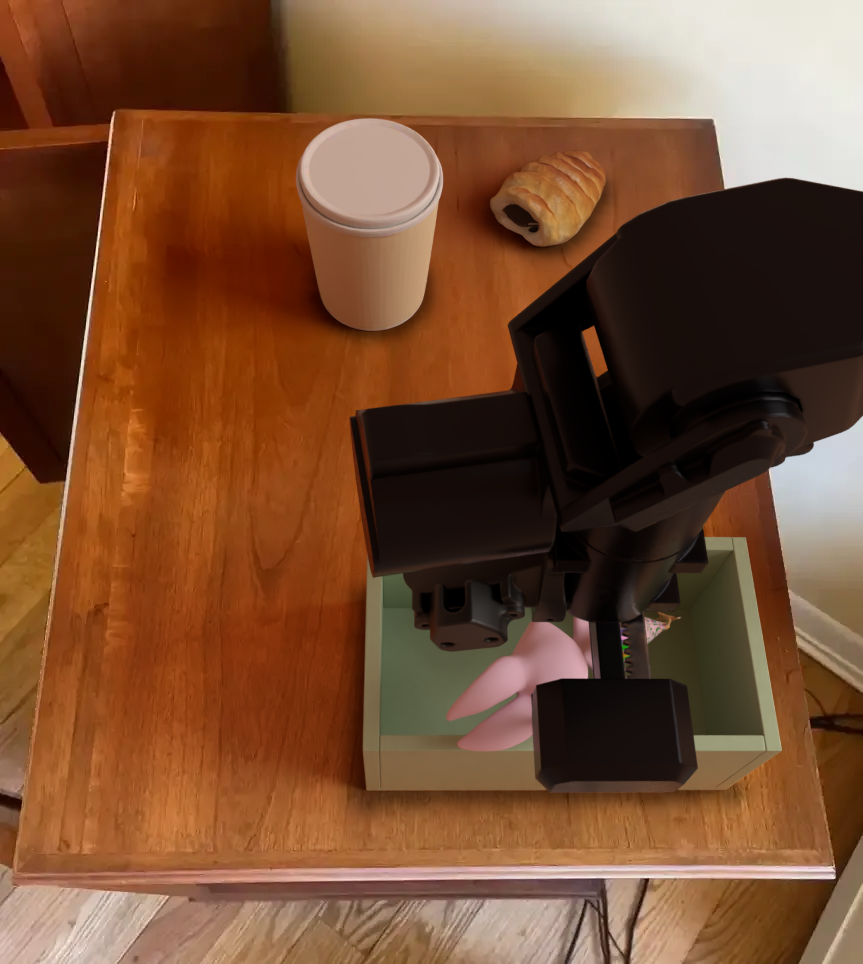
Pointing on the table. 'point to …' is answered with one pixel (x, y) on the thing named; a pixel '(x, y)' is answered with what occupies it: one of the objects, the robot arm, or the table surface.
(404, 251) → the coffee cup
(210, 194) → the table surface
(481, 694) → the rabbit figure
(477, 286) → the table surface
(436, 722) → the bin
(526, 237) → the pastry
